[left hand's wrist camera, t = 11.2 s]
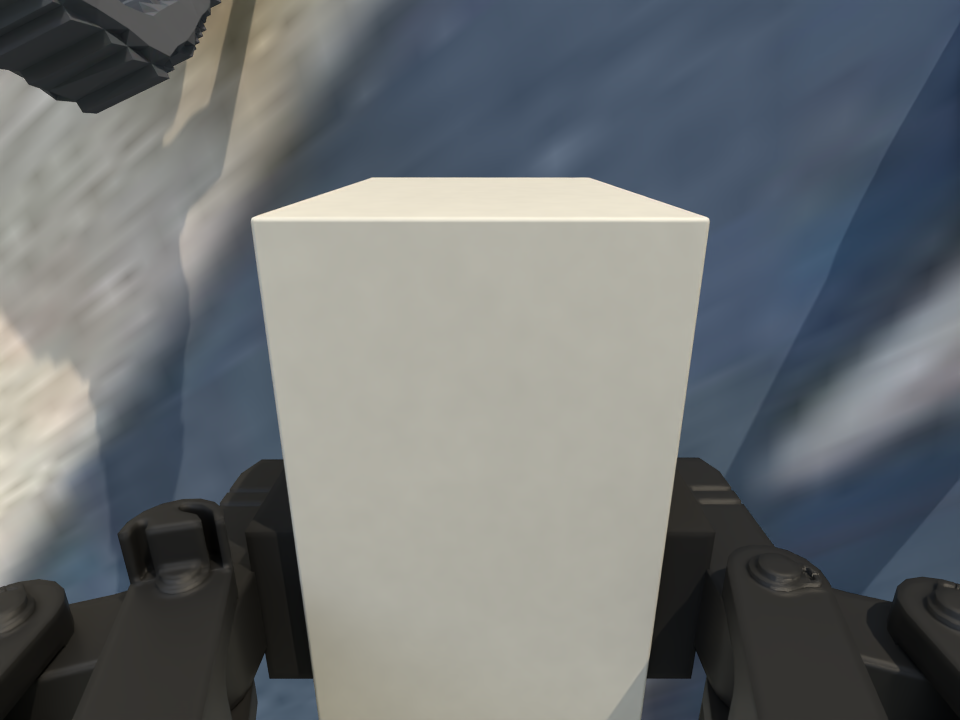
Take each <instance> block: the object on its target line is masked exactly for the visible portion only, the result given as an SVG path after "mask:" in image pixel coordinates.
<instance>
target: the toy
mask: <svg viewBox="0 0 960 720" xmlns="http://www.w3.org/2000/svg"><path fill="white" fill-rule="evenodd" d="M220 3H221V1H220V0H0V69H5V70H10V71H11V72H13V73H15V74H17V75H19V76H21V77H23V78H24V79H25V80H26V81H27V83H28V84H29V85H31V86H34V87H38V88H40V89H41V90H43V91H44V92H46V93H47V94H48V95H50V96H51V97H53V98H54V99H55V100H58V101H69V102H77V104H78V105H79V107H80V109H81V110H82V112H83V113H96V114H97V113H99V112H101V111H103V110H105V109H107V108H109V107H111V106H113V105H115V104H117V103H119V102H121V101H124V100H126V99H128V98H130V97H132V96H134V95H136V94H138V93H140V92H142V91H144V90H146V89H148V88H150V87H152V86H155V85H157V84H159V83H161V82H163V81H165V80H167V79H169V76H168V74H167V73H168V72H170V71H173V70H174V67H173V66H174V65H176V64H178V63H180V62H182V61H184V60H186V59H189V58H191V57H193V52H194V50H196V47H195V45H196V44H198V43H200V42H199V40H198V38H200V37H202V36H203V35H202V33H201V32H203V31H205V30H206V28H205V26H204V24H203V23H205V22H206V17H207V16H209V15H211V9H210V8H211V7H213V6H216V5H218V4H220Z"/></svg>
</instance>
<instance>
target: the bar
mask: <svg viewBox="0 0 960 720" xmlns="http://www.w3.org/2000/svg"><path fill="white" fill-rule="evenodd" d="M709 223H710V222H709V218H707V217H704V216H701V215H698V214H695V213H692V212H689V211H686V210H683V209H680V208H677V207H675V206H672V205H669V204H666V203H663V202H660V201H657V200H654V199H651V198H648V197H645V196H642V195H639V194H636V193H633V192H630V191H627V190H624V189H621V188H618V187H615V186H612V185H609V184H606V183H603V182H600V181H597V180H594V179H591V178H370V179H367V180H364V181H361V182H358V183H355V184H352V185H349V186H346V187H343V188H340V189H337V190H334V191H331V192H328V193H325V194H322V195H318V196H315V197H312V198H309V199H306V200H303V201H300V202H297V203H294V204H291V205H288V206H285V207H282V208H279V209H276V210H273V211H270V212H267V213H264V214H261V215H258V216H255V217H253V218H252V219H251V226H252V233H253V241H254V248H255V255H256V263H257V270H258V277H259V285H260V292H261V299H262V307H263V314H264V321H265V329H266V336H267V343H268V350H269V358H270V365H271V372H272V380H273V387H274V394H275V402H276V409H277V416H278V424H279V431H280V438H281V446H282V453H283V460H284V467H285V475H286V482H287V489H288V497H289V504H290V511H291V519H292V526H293V533H294V541H295V548H296V555H297V562H298V570H299V577H300V584H301V592H302V599H303V606H304V614H305V621H306V628H307V636H308V643H309V650H310V658H311V665H312V672H313V679H314V687H315V694H316V701H317V709H318V716H319V720H641V715H642V708H643V700H644V693H645V686H646V679H647V671H648V664H649V657H650V650H651V642H652V635H653V628H654V621H655V614H656V606H657V599H658V592H659V585H660V577H661V570H662V563H663V556H664V548H665V541H666V534H667V527H668V520H669V512H670V505H671V498H672V491H673V483H674V476H675V469H676V462H677V455H678V447H679V440H680V433H681V426H682V418H683V411H684V404H685V397H686V389H687V382H688V375H689V368H690V361H691V353H692V346H693V339H694V332H695V324H696V317H697V310H698V303H699V296H700V288H701V281H702V274H703V267H704V259H705V252H706V245H707V238H708V230H709Z"/></svg>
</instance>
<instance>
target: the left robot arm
mask: <svg viewBox="0 0 960 720" xmlns="http://www.w3.org/2000/svg"><path fill="white" fill-rule="evenodd" d="M118 538H119V542H120V545H121V549H122V553H123V557H124V561H125V565H126V568H127V572H128V576H129V580H130V586H129V589H128V591H125V592H121V593H118V594H114V595H110V596H105V597H101V598H96V599H91V600H87V601H82V602H78V603H73V604H69V603H68V600H67V597H66V594H65V591H64V588H62V587H61V586H60V585H59V584H57V583H56V582H54V581H48V580H41V579H37V580H30V581H22V582H17V583H14V584H9V585H8V586H3V587H0V720H256V712H257V703H258V702H257V694H256V688H255V682H254V677H255V675H256V672H257V670H258V668H259V665H260V663H261V660H262V658H263V656H264V653H265V655H266V661H267V666H268V672H269V678H270V679H313V672H312V665H311V658H310V650H309V643H308V636H307V628H306V621H305V614H304V606H303V599H302V592H301V584H300V577H299V570H298V562H297V555H296V548H295V541H294V533H293V526H292V519H291V511H290V504H289V497H288V489H287V482H286V475H285V467H284V460H260V461H259V462H258V463H256V464H255V465H253V466H252V467H250V468H249V469H247V470H246V471H244V472H243V473H241V475H240V476H239V477H238V479H237V480H236V482H235V483H234V484H233V486H232V487H231V488H230V492H229V493H227V494H226V495H225V497H224V498H223V499H222V501H221V502H220V506H219V505H218V504H216V503H215V502H212V501H208V500H204V499H181V500H177V501H172V502H168V503H164V504H161V505H158V506H156V507H153V508H151V509H149V510H146V511H144V512H142V513H141V514H139V515H138V516H136V517H135V518H133V519H132V520H130V521H129V522H127V523H126V525H125V526H124V527H123V528H122V529H121V530H120V532H119V533H118ZM695 652H697V654H698V656H699V659H700V661H701V663H702V666H703V668H704V670H705V673H706V675H707V677H706V682H705V688H704V693H703V699H702V704H701V710H700V715H699V720H960V584H955V583H954V582H950V581H946V580H943V579H935V578H927V577H917V578H911V579H906V580H905V581H903V582H902V583H901V584H900V585H898V586H897V589H896V593H895V596H894V599H893V602H890V601H885V600H881V599H876V598H871V597H867V596H862V595H858V594H853V593H848V592H845V591H841V590H837V589H834V588H831V585H830V583H829V582H828V580H827V579H826V578H825V576H824V575H823V573H822V572H821V571H820V570H819V569H818V568H817V567H815V566H814V565H813V564H811V563H810V562H809V561H807V560H806V559H805V558H802V557H800V556H798V555H796V554H794V553H792V552H790V551H788V550H784V549H780V548H776V547H774V545H773V544H772V543H771V541H770V540H769V538H768V537H767V536H766V534H765V533H764V532H763V530H762V529H761V528H760V526H759V525H758V523H757V522H756V521H755V519H754V518H753V517H752V515H751V514H750V513H749V511H748V510H747V508H746V507H745V506H744V504H741V500H740V499H739V498H738V496H737V495H736V493H735V492H734V491H731V487H730V485H729V484H728V483H727V481H726V480H725V478H724V477H723V476H722V474H721V473H720V472H719V471H718V470H716V469H715V468H714V467H712V466H711V465H709V464H708V463H706V462H705V461H703V460H702V459H700V458H677V462H676V469H675V476H674V483H673V491H672V498H671V505H670V512H669V520H668V527H667V534H666V541H665V548H664V556H663V563H662V570H661V577H660V585H659V592H658V599H657V606H656V614H655V621H654V628H653V635H652V642H651V650H650V657H649V664H648V671H647V678H676V679H691V675H692V669H693V663H694V657H695Z"/></svg>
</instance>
